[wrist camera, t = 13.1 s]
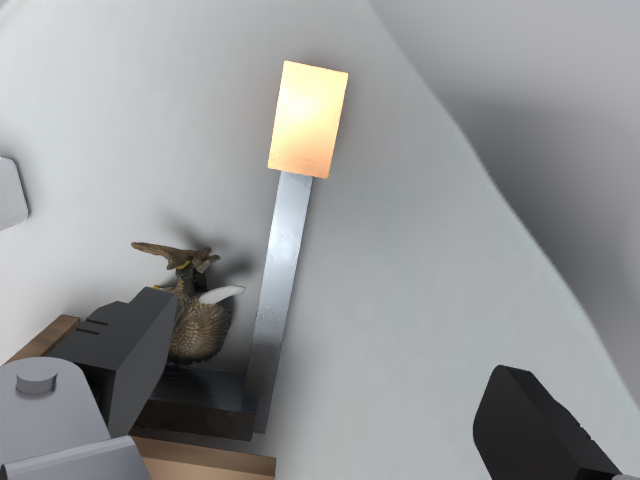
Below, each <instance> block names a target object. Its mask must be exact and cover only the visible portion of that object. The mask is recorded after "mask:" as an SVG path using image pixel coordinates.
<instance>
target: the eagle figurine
mask: <svg viewBox="0 0 640 480" xmlns="http://www.w3.org/2000/svg"><path fill="white" fill-rule="evenodd" d="M131 245H132V247H133V248H135V249H138V250H140V251H143V252H146V253H151V254H154V255H161V256H164V257H165V258H166V259H167V260H168V263H169V264H168V266H167V270H170V269H174V268H176V275H177V277H178V282H177V286H176V287H167V288H159V287H157V286H156V285H154V287H153V288H156V289H160V290H165V291H169V292H174V293H177V295H178V302H177V308H176V314H175V319H174V325H173V330H172V336H171V341H170V347H169V352H168V357H167V361H166V362H167V363H171V362H172V363H173V364H174V365H180V364H184V365H186V366H188V365H190V364H192V363H193V362H194V361H195V362H196V363H200V362H201V361H202V360H204V361H207V360H208V359H211V358H212V357H213V356H215V355H216V354H217V352H219V351H220V350H221V348H220V347H221V346H222V344H223V340H224V339H225V336H226V334H227V332H226V331H227V330H228V329H229V326H230V324H231V317H230V314H231V313H230V311H228V309H227V308H226V309H224V308H223V306H219V303H218V302H219V301H221V300H223V299H225V298H227V297H228V296H232V295H238V294H242V293H243V292H244V289H245V287H242V286H238V285H229V286H224V287H219V288H216V289H213V290H211V291H208V290H207V285H206V276H205V274H206V271H205V269H206V268H207V267H209V265H210V264H211V262H216V261H218V260H220V259H221V258H220V257H219V256H218V255H213V256H211V257H210V256H208V253H210V252H211V249H210V248H205V249H204V250H201V251H193V250H180V249H176V248H172V247H167V246H160V245H154V244H148V243H136V242H134V243H131ZM192 267H193V268H192Z"/></svg>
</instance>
